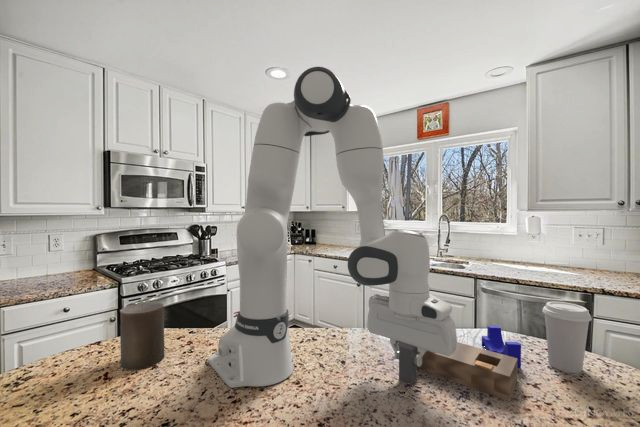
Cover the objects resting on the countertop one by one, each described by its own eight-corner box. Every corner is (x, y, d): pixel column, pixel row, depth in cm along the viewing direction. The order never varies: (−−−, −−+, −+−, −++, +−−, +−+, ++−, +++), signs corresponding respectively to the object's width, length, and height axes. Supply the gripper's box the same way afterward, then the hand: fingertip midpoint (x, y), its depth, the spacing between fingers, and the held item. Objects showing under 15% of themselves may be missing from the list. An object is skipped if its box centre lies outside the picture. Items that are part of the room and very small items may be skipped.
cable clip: (481, 346, 88) (481, 325, 88) (498, 347, 87) (498, 326, 87) (501, 367, 76) (501, 343, 76) (520, 369, 75) (521, 344, 75)
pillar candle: (168, 362, 78) (168, 302, 78) (122, 374, 72) (122, 310, 72) (159, 348, 85) (159, 294, 85) (117, 359, 79) (117, 301, 79)
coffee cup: (533, 362, 78) (534, 303, 78) (553, 354, 83) (554, 298, 82) (578, 381, 70) (579, 315, 70) (598, 370, 74) (599, 309, 74)
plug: (397, 379, 70) (397, 340, 70) (404, 373, 73) (404, 335, 72) (412, 385, 68) (412, 344, 68) (418, 379, 70) (418, 339, 70)
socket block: (406, 364, 77) (407, 343, 77) (422, 350, 84) (423, 331, 84) (509, 401, 62) (509, 375, 62) (517, 380, 70) (517, 357, 70)
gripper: (362, 295, 74) (361, 352, 75) (450, 314, 61) (449, 384, 61) (375, 290, 79) (375, 343, 79) (459, 307, 66) (458, 371, 66)
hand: (408, 361), depth 70 cm, fingers closed on plug, 3 cm apart
